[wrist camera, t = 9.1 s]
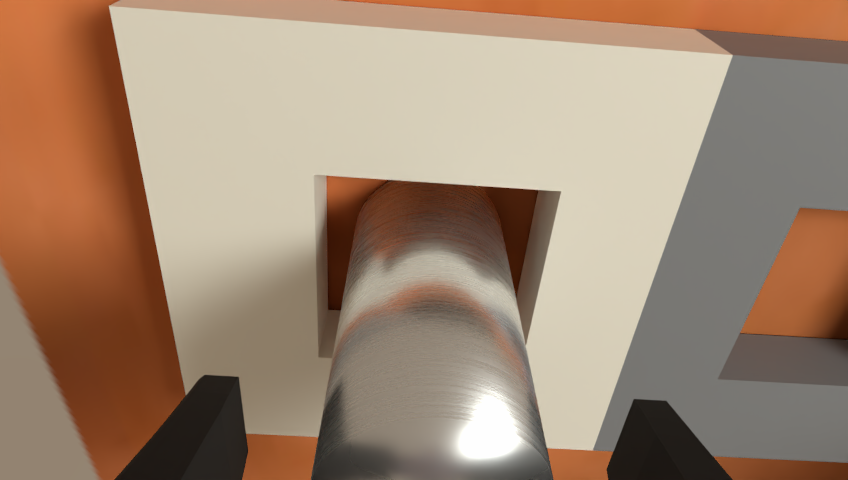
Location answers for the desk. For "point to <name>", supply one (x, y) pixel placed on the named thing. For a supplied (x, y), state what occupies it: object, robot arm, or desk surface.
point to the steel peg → (430, 347)
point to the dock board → (509, 168)
